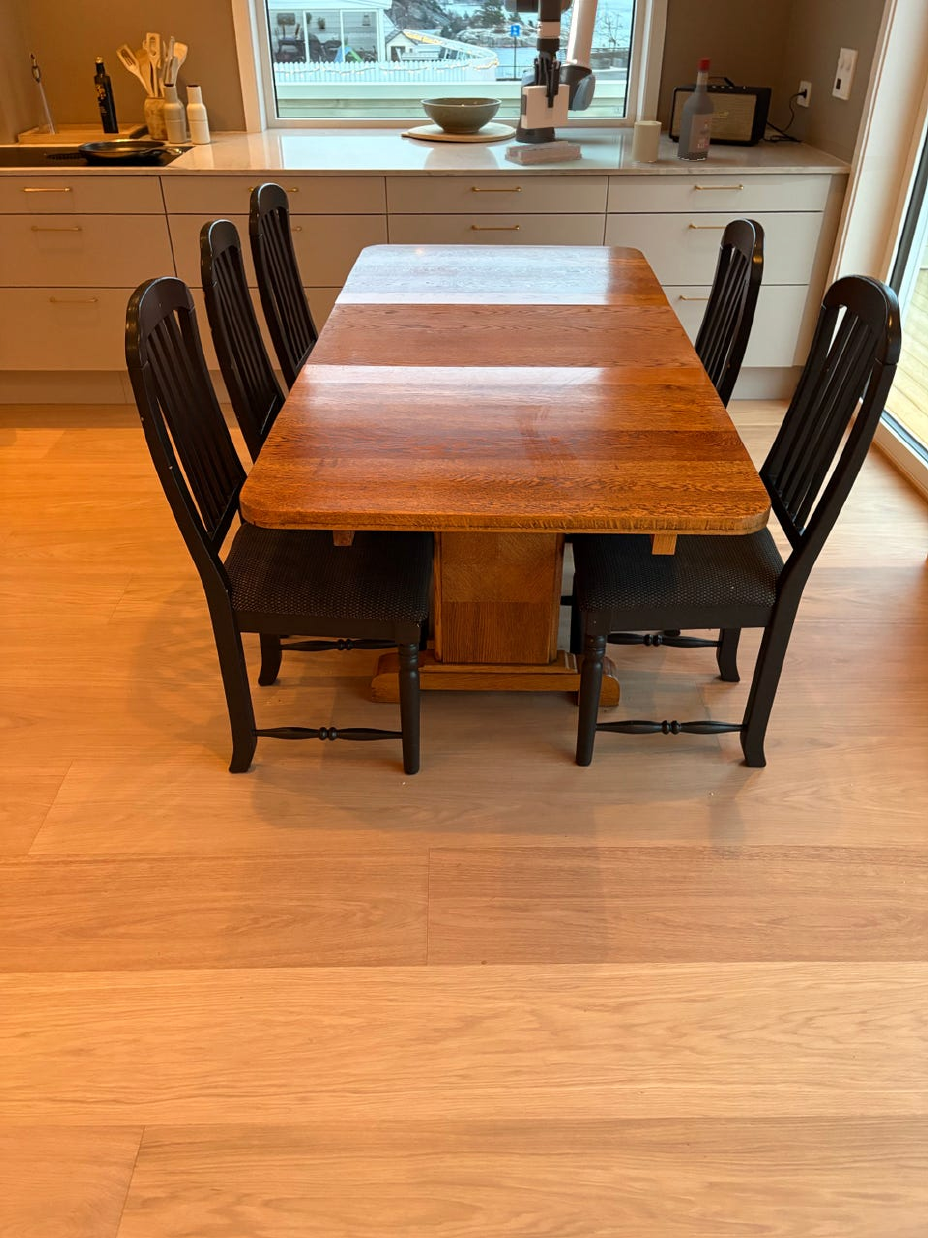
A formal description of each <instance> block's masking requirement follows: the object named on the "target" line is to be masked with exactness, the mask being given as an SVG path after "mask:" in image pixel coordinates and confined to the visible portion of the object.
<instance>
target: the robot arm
mask: <svg viewBox="0 0 928 1238" xmlns="http://www.w3.org/2000/svg"><path fill="white" fill-rule="evenodd" d="M598 3H599V0H503V6H504V9H505V11H506V12H508V13H515V14H517V13H518V14H519V13H522V14H523V13H525V14H527V13H528V14H532V13H533V14H537V27H536V28H537V31H536V32H537V33H536V34H537V36H538V37H537V39H536V51H537V52H539V54H538V57H535V58H533V64H534V69H531V70H528V71H525V72H524V73H523V74H522V75H521V83H520V112H519V113H520V117H519V120H518V123H517V126H516V130H515V132H516V136H515V135H514V140H515V141H517V142H521V143H525V144H526V143H527V144H540V143H549V142H555V140H556V131H555V127H544V128H533V129H525V128H522V127H521V114H522V87H530V86H544V85H547V95H545V119H552V118H553V103H554V97H555V96H556V95H558V89H559V84H565V85H569V103H568V111H573V112H577V111H579V112H580V111H581V112H583V111H586V110H588V108H589V107H590V106H591V103H592V101H593V98H594V95H595V90H596V76H595V75H594V74H593V69H592V67H591V66H590V59H591V51H592V45H593V44H592V43H593V40H594V39H593V37H594V32H595V31H594V30H595V25H596V23H595V22H596V16H597V10H598ZM571 7H572V11H571V16H570V17H571V18H570V24H569V33H568V39H567V49H566V53H565V54H566V56H565V62H564V63H563V64H562V61H559V60H557V59H558V58H557V52H559V51H560V48H561V45H560V44H561V39H560V36H561V29H562V28H561V27H562V14H564V13H566V12H567V11H569V10H570V8H571Z"/></svg>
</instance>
